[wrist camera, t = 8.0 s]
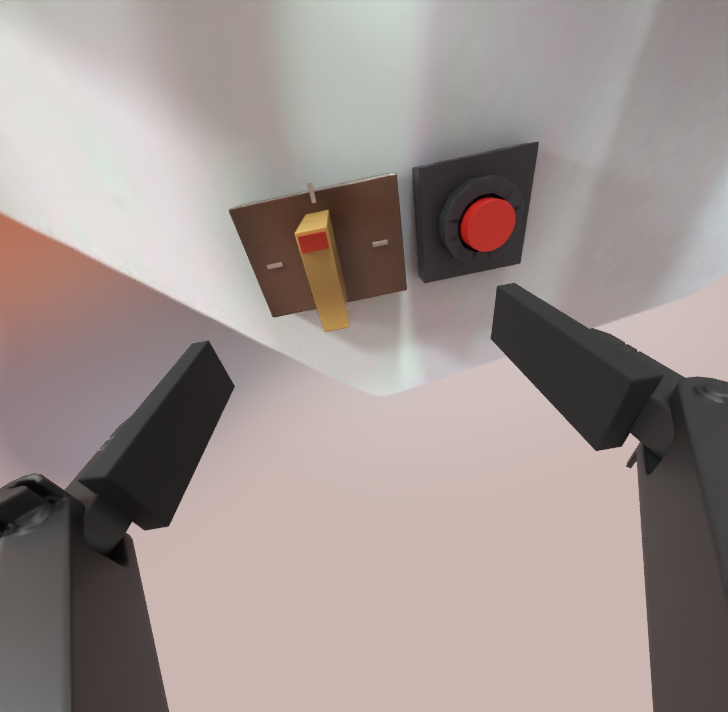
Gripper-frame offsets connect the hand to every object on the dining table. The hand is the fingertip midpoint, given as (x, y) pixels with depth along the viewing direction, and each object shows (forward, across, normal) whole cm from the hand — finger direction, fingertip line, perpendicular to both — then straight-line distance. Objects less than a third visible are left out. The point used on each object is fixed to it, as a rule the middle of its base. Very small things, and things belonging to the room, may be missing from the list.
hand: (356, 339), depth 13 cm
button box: (+18, -12, -1) cm, 22 cm away
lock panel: (+18, +2, -1) cm, 18 cm away
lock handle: (+15, +2, -1) cm, 15 cm away
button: (+14, -12, -1) cm, 19 cm away
